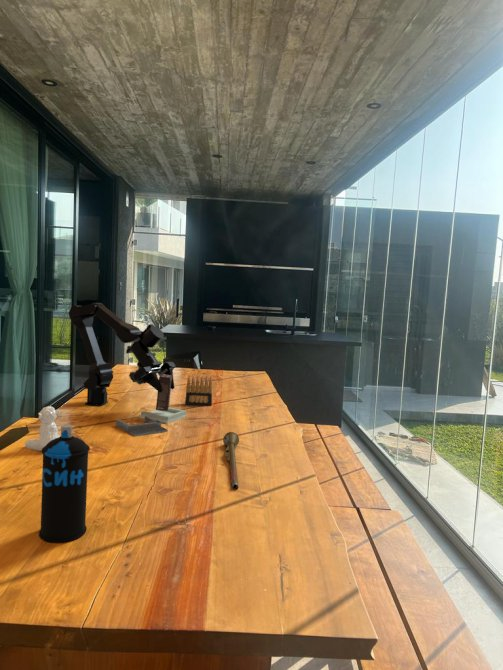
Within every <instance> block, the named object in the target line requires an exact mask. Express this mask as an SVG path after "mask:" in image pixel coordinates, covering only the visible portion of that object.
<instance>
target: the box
mask: <svg viewBox="0 0 503 670" xmlns="http://www.w3.org/2000/svg"><path fill="white" fill-rule="evenodd" d="M158 379H159V382H160V384H161V387H162V390H163V391H162V392H161V393H160V392H159V391H157V394H156V403H155V404H156V406H155V410H160V411H168V408H170V403H171V402H170V399H171V390H172V389H171V381H172V375H164V374H161V375H160V376H159V377H158Z"/></svg>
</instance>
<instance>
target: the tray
mask: <svg viewBox="0 0 503 670" xmlns="http://www.w3.org/2000/svg"><path fill="white" fill-rule="evenodd" d="M145 416H150V417H152V418H154V419H156V420H158V421H160V422H161V424H162V423H163V424H167V425H168V424H170V423H173V422H176V421H180V420H181V419H184V418H186V417H187V410H185V409H179V408H173V407H169V408H168V411H160V410H156V409H154V410H151V411H144V410H143V411H142V410H141V411H140V414H139V415H138V418H139V419H143V420H145Z"/></svg>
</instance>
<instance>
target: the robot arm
mask: <svg viewBox="0 0 503 670" xmlns="http://www.w3.org/2000/svg"><path fill="white" fill-rule="evenodd" d="M68 316H69V319H70V321H71V324H72V325H73V326H75V327H76V328H77V329H78V331H79V335H80V338H81V340H82V343H83V346H84V350H85V353H86V355H87V359H88V362H89V368H88V378H87V379H86V380H84V382H83V387H84V389H85V390H87V396H86V397H87V398H86V402H85V403H84V404H85V405H88V406H89V405H90V406H97V407H98V406H99V407H100V406H103V405H106V404H108V392H107V388H110V385H111V383H112V382H113V379H114V371H113V369H112V364H111V363H110V362H105V361H104V359H103V355H102V352H101V350H100V347H99V344H98V341H97V338H96V334H95V332H94V329H93V323H94V317H95V316H96V317H97V318H99V319H100V320H101V321H102V322H104V324H106V325H107V326H108V327H110V328H111V329H112V331H114V333H115V335H116V337H117V338H118V339H119V340H120V341H121V342H122V343H123V344H130V343H132V344H131V345H127V347H126V352H125V353H126V354H133V356H134V357H135V359H136V360H137V362H136V366H137V368H138V369H136V370H135V371H131V372H129V374H128V377H129V378H130V380H131V381H132V383H136V384H138V385H139V386H141V385H142V384H148V385H149V386H151V387H152V388H154V390H156V391H157V392H158V391H159V392H160V393H161V392H162V391H163V390H162V387H161V384H160V382H159V377H160V375H161V374H164V375H172V381H171V390H174V389H175V382H174V369H175V368H176V367H177V366H176V364H175V363H174V362H173V361H166V362H164V363H162V361H158V359H157V358H156V355H157V354H156V353H155V352H152V351H151V349H153V348H154V347H155V346H156V345H158V343H160V342H161V340H163V338H164V333H163V331H162V329H160V328H159V327H157V326H156V325H154V324H153V323H149V324H148V325H147V326H146V328H145V329H144V330H143V331H142V330H141V329H140V328H139V327H138V326H135V325H134V324H131V323H129V322H126V321H124V320H122V319H121V318H120V317H119V316H117V315H116V314H115V313H114V312H113V311H111V310H110V309H109V308H107V307H106V306H105V304H104V303H101V302H92V303H89V304H84V305H73V306H71V307H70V309H69V311H68ZM150 348H151V349H150ZM158 376H159V377H158Z"/></svg>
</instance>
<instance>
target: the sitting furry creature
mask: <svg viewBox="0 0 503 670" xmlns="http://www.w3.org/2000/svg"><path fill="white" fill-rule="evenodd" d="M60 414H61V409H55V407H53V406H49V405H48V406H45V407H43V408H42V409H41V410H40V411H39V412H38V420H40V421H41V423H40V427H39V430H38V435H39V437H38V439H37V438H30V439H28V440H26V441H25V442H24V447H25V448H27V449H28V450H33V451H36V452H37V451H39V452H42V448H43V447H45V446H46V445H47V444H48V443H49V442H50V441H51V440H53V439H55V438H58V437H60V436H61V435H59V430H58V426H57V424H56V422H55V421H56V419H57V416H58V415H60Z"/></svg>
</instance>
